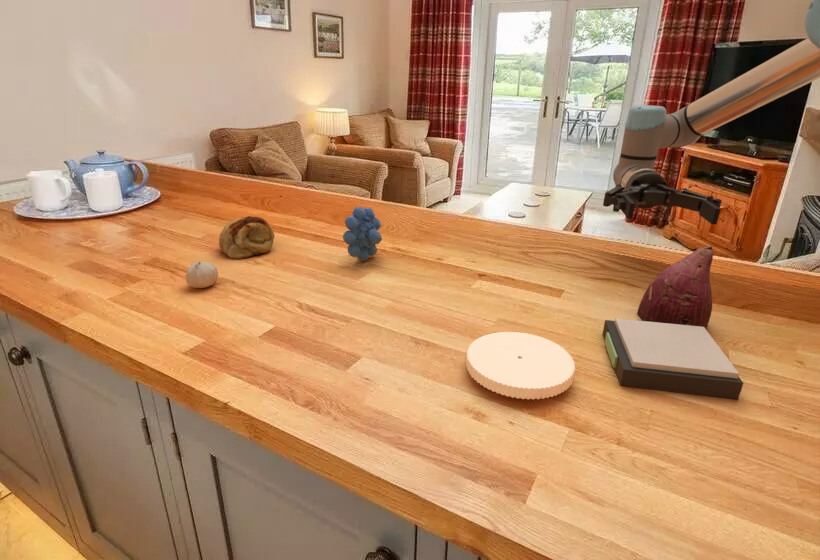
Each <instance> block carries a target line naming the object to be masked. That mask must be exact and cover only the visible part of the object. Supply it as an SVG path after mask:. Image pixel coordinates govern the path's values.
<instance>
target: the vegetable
mask: <svg viewBox="0 0 820 560" xmlns="http://www.w3.org/2000/svg"><path fill="white" fill-rule="evenodd" d="M713 258H714V250H713V245H711V244H710V245H707V246H704V247H700V248H697V249H696V250H694V251H693V252H691V253H690V254H688V255H686V256H685V257H683V258H681V259H680V260H677V261H676V262H674V263H672V264H670V265H669V266H667V267H665V268H664V269H663V270H661V271H660V273H658V275H656V277H654V278H653V280H652V281H651V282H650V283H649V285H648V287H647V288H646V290H645V291H644V293H643V296H642V298H641V300H640V302H639V305H638V307H637V315H638V316H639V318H640V319H641V321H648V322H658V323H669V324H679V325H690V326H700V327H704V328H705V329H706V330H707V328H708V327H709V322H710V320H711V316H712V310H713V295H712V294H713V293H712V285H711V280H710V279H711V278H710V277H711V268H712V267H711V266H712V263H713Z"/></svg>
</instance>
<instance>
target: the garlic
mask: <svg viewBox="0 0 820 560" xmlns="http://www.w3.org/2000/svg"><path fill="white" fill-rule="evenodd" d="M218 277H219V270H218V268H217V266H216V265H215V264H213V263H211V262H208V261H200V260H196V261H195V262H193V263H191V264H190V265H189V266H188V267H187V268H186V272H185V282H186V283H187V285H188V287H191V288H194V289H205V288H206V289H207V288H209V287H211V286H212V285H214V284H215V283H216V282H218Z"/></svg>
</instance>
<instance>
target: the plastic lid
mask: <svg viewBox="0 0 820 560" xmlns="http://www.w3.org/2000/svg"><path fill="white" fill-rule="evenodd" d="M465 361H466V362H465V366H466V370H467V373H469V376H471V378H472V379H473V380H474V381H476V383H477V384H479V386H483V388H485V389H487V390H489V391H491V392H493V393H494V392H495V394H500V395H501V396H505V397H511V398H512V399H514V398H516V399H517V400H518V399H521V400H525V399H526V400H541V399H542V400H544V399H545V398H546V399H549V398H554V396H555V397H557V396H558V395H561V393H562V394H563V393H564V392H565V391H567V390H568V389H570V387H571V386H572V384H573V382H574V377H575V371H576V364H575V363H576V362H575V359H574V358H573V357H572V355H571V354H570V352H568V350H567V349H565V348H564V347H562V345H559V344H558V343H556V342H555V341H552V340H550V339H547V337H545V338H544V337H543V336H539V335H536V334H531V333H526V332H520V331H519V332H518V331H502V332H501V331H498V332H494V333H492V332H491V333H490V334H489V333H488V334H487V333H486V334H484V335H483V336H482V335H481V336H480V337H477V338H476V339H475V340H473V341H472V342H471V343H470V344H469V346H468V347H467V349H466V358H465Z"/></svg>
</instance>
